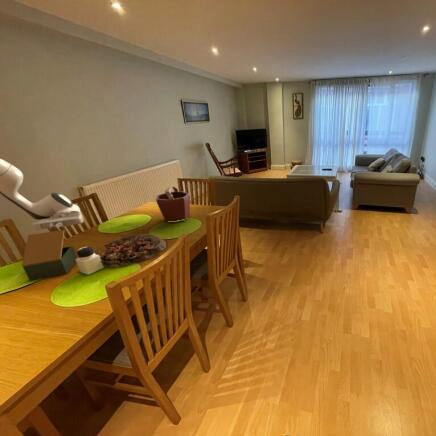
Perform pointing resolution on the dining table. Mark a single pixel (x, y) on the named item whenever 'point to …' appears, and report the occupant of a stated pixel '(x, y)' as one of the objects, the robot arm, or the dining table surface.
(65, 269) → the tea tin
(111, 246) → the food dish
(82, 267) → the medicine bottle
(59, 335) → the dining table surface
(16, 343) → the dining table surface
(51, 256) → the box lid
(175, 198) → the bucket
